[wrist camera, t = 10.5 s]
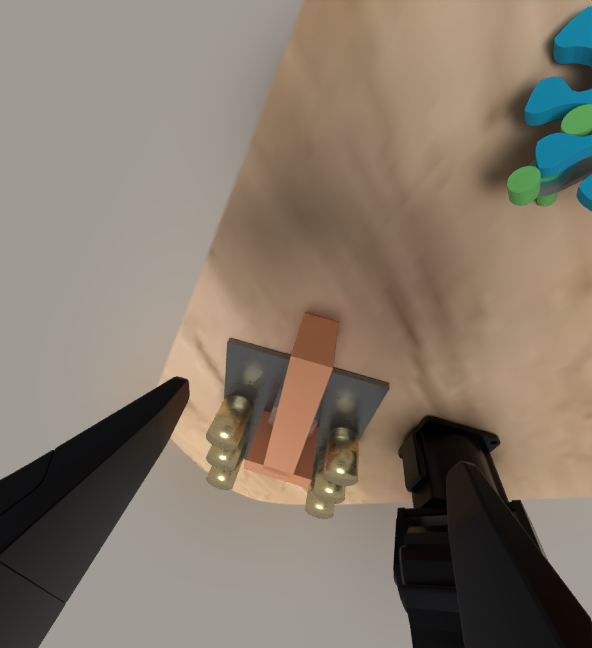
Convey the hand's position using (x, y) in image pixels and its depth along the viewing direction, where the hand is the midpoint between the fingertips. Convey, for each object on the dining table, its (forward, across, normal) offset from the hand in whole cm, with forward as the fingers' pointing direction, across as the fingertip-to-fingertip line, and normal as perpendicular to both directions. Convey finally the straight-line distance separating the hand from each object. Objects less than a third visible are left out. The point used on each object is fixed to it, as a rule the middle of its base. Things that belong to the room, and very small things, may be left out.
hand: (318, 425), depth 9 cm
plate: (+12, 0, +18) cm, 21 cm away
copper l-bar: (+12, 0, +11) cm, 16 cm away
